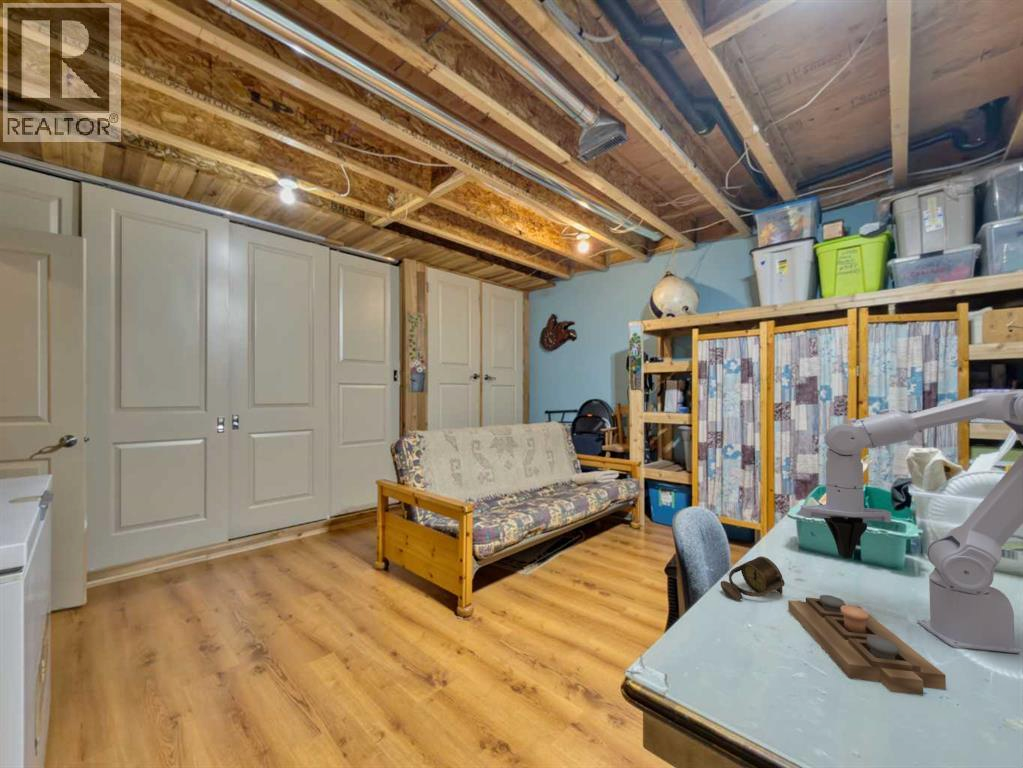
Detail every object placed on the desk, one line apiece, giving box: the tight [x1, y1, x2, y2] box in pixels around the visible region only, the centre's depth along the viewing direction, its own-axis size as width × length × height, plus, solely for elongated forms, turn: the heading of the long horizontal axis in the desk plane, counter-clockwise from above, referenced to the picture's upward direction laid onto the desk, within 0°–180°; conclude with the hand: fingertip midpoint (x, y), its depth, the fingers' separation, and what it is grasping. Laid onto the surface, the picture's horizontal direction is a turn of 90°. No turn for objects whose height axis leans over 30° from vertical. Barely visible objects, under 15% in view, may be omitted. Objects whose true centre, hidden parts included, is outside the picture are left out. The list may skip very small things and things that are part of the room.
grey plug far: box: [819, 594, 845, 612], centre depth 78 cm, size 4×4×3 cm
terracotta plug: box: [841, 604, 869, 634], centre depth 71 cm, size 4×4×3 cm
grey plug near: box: [867, 636, 898, 660], centre depth 64 cm, size 4×4×3 cm
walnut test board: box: [787, 597, 947, 696], centre depth 71 cm, size 12×24×3 cm, turn 169°
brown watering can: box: [720, 555, 786, 601], centre depth 89 cm, size 7×13×10 cm
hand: (845, 556), depth 82 cm, fingers closed
